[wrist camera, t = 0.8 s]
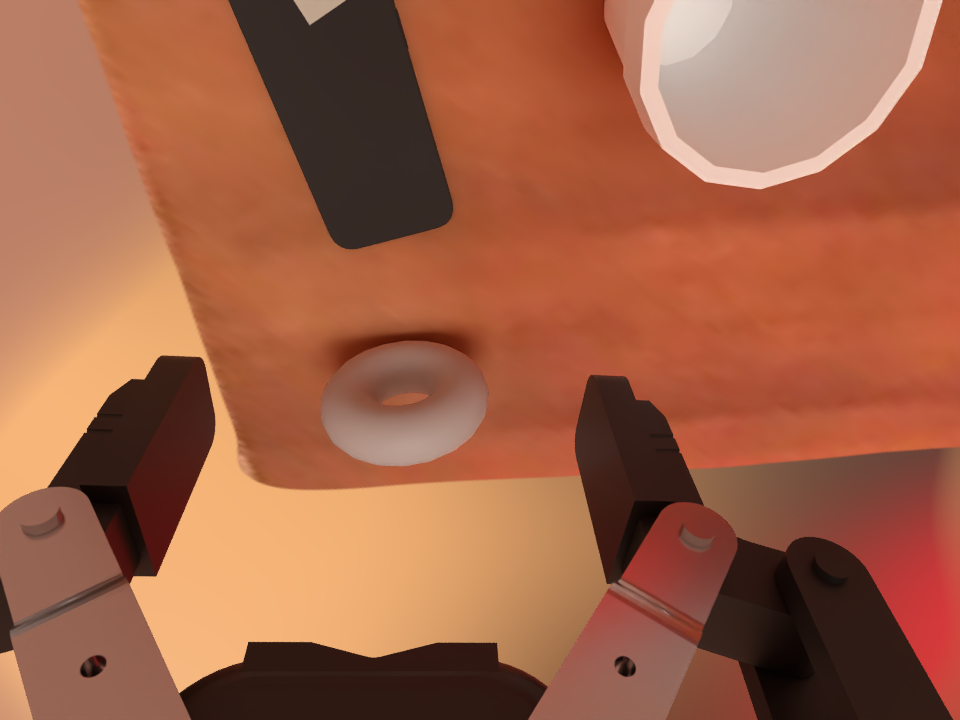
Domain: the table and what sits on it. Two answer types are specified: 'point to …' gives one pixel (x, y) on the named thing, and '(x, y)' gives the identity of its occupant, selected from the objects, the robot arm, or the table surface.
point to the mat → (316, 8)
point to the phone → (351, 116)
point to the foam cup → (766, 78)
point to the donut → (409, 427)
